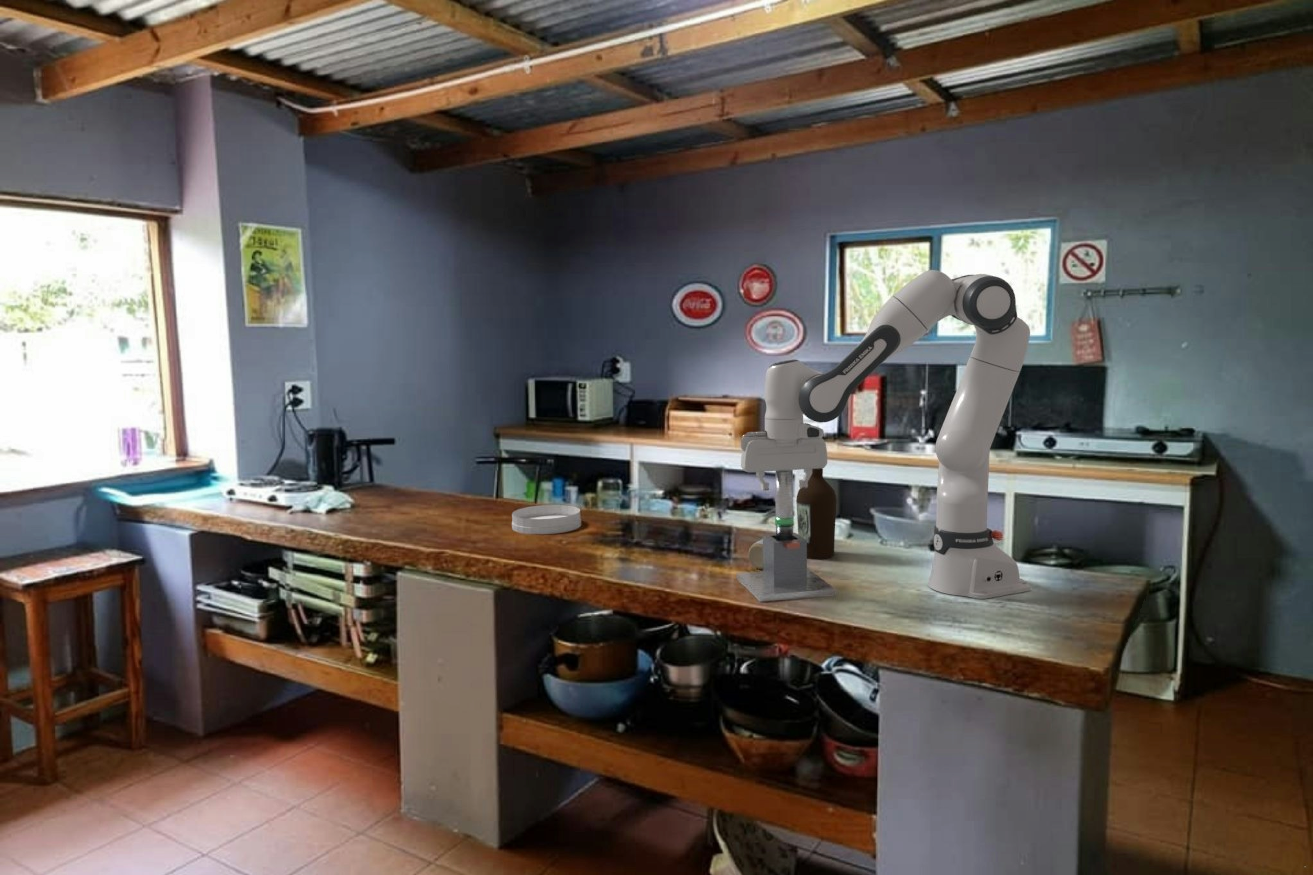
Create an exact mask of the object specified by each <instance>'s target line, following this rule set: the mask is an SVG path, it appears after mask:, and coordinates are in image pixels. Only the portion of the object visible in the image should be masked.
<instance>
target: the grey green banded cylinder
mask: <svg viewBox="0 0 1313 875" xmlns="http://www.w3.org/2000/svg"><path fill="white" fill-rule="evenodd" d="M774 472H775V517H774V525H775V534H776V540H777V541H783V540H793V533H794V520H795V519H794V470H783V471H774Z"/></svg>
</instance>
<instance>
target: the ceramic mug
mask: <svg viewBox="0 0 1313 875" xmlns="http://www.w3.org/2000/svg"><path fill="white" fill-rule="evenodd" d="M748 560H749V562H750V564H751V565H752V566H753V567H754V568H756V569H757V570H761V571H763V538H762V539H760V540H758V541H756V542H754V543H753V544H752V545H751V546H750V547H749V549H748Z"/></svg>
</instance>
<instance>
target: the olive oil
mask: <svg viewBox="0 0 1313 875" xmlns="http://www.w3.org/2000/svg"><path fill="white" fill-rule="evenodd" d="M837 501H838V499H837V494H836V492H835V490H834V488H833V487H832V486H831V485H830V484H829V483H828V481H826V480H825V478H824V468H818V469H812V475H811V477H810V478H809V480H808V487H807V488H800V487H799V489H798V491H797V494H796V518H797V534H798V535H799V536H801V537H802V538H804V539H805V540H807V559H812V560H824V559H830V558H832V557H834V556H835V541H836V540H835V535H836V518H837V503H838V502H837Z"/></svg>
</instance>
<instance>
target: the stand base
mask: <svg viewBox="0 0 1313 875" xmlns="http://www.w3.org/2000/svg"><path fill="white" fill-rule="evenodd" d="M762 539H763V570H761V571H759V570H758V571H748V572H738V573H736V579H737V580H738V582H739V583H740V584H742V585H743V586H744V587H745V588H746V590H747V591H749V592H750V594H752V596H754V597H755V598H756V599H757V600H758V601H759V602H761V603H762V602H773V601H774V602H775V601H784V600H786V601H787V600H796V599H808V598H818V597H819V598H820V597H830V596H836V595H837V594H836V587H834V586H832V585H831V584H829V582H827V581H825V579H823V578H822V577H820V576H818V575H817V574H816V573H814V571H812V570H810V569H809V568H807V567H808V562H807V561H808V558H807V540H805V539H804V538H802V537H801V536H799V535H798V533H796V532H794V531H793V540H783V541H777V540H776V533H771V534H769V533H767V534H762Z"/></svg>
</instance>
